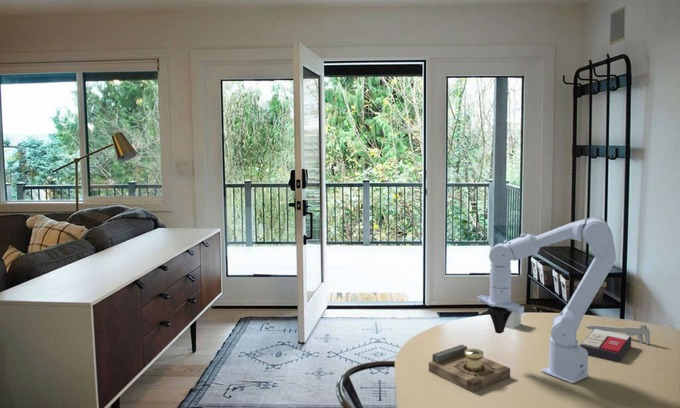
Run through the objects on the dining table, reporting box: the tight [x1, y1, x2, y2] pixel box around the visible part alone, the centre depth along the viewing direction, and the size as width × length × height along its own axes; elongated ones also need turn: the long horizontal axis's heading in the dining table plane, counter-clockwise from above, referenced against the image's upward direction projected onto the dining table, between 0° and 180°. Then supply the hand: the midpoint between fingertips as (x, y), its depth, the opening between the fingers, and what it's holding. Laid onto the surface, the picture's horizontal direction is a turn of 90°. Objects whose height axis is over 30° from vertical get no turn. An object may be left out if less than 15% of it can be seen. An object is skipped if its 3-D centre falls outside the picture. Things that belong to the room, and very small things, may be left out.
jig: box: [428, 344, 511, 393], centre depth 147 cm, size 16×15×4 cm
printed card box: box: [579, 329, 632, 363], centre depth 163 cm, size 11×4×15 cm
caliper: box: [585, 324, 651, 346], centre depth 174 cm, size 20×1×6 cm, turn 36°
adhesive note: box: [505, 312, 522, 329], centre depth 186 cm, size 6×6×6 cm
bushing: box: [465, 348, 485, 372], centre depth 145 cm, size 5×5×7 cm
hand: (499, 332), depth 153 cm, fingers closed
